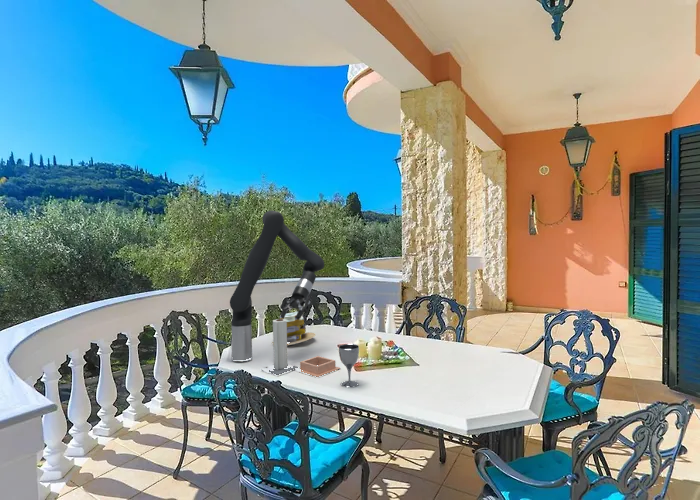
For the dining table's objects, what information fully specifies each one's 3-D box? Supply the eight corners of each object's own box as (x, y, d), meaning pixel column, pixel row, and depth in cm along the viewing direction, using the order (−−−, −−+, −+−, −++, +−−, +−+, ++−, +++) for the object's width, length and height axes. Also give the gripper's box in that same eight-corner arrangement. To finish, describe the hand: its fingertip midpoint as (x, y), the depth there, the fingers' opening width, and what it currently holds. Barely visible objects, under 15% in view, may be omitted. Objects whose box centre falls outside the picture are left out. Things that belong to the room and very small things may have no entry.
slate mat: (260, 370, 175) (260, 368, 175) (281, 363, 184) (281, 362, 184) (277, 376, 167) (277, 374, 167) (299, 368, 176) (299, 367, 176)
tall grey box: (281, 364, 181) (280, 318, 180) (290, 366, 177) (289, 319, 176) (269, 368, 175) (267, 320, 174) (278, 371, 171) (276, 322, 170)
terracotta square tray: (295, 371, 173) (295, 362, 173) (318, 363, 184) (318, 354, 184) (317, 377, 164) (317, 368, 164) (340, 369, 175) (340, 360, 174)
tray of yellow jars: (265, 347, 213) (264, 317, 212) (279, 336, 237) (278, 308, 237) (310, 348, 209) (309, 317, 209) (319, 336, 234) (319, 308, 234)
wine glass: (342, 388, 152) (341, 350, 151) (337, 381, 159) (336, 344, 159) (362, 386, 154) (361, 348, 153) (356, 379, 161) (355, 343, 161)
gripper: (287, 285, 193) (273, 312, 183) (312, 285, 187) (299, 314, 177) (293, 294, 198) (280, 321, 188) (318, 295, 192) (305, 323, 182)
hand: (289, 318), depth 182 cm, fingers open, 8 cm apart
